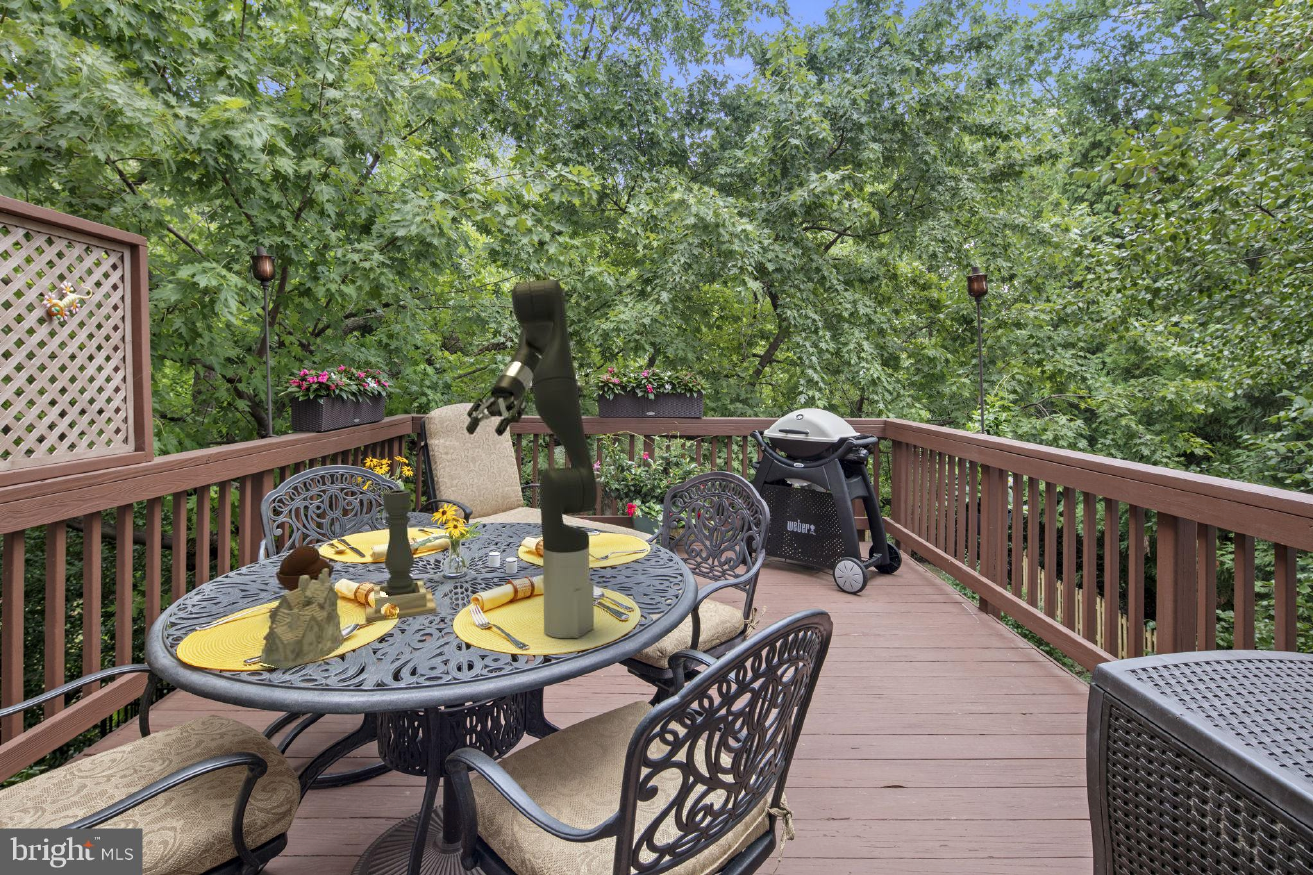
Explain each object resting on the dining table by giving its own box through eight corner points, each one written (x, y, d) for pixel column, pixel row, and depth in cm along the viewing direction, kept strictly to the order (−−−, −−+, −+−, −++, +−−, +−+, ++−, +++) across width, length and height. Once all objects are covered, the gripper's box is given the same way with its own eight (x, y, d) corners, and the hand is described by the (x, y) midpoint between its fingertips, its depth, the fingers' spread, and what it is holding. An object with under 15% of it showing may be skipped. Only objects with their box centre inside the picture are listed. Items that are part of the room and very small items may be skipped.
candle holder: (405, 607, 140) (401, 494, 138) (380, 605, 141) (375, 493, 139) (421, 598, 146) (417, 489, 144) (396, 596, 147) (392, 489, 145)
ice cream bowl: (346, 607, 144) (343, 541, 142) (299, 624, 133) (296, 553, 132) (313, 600, 148) (310, 536, 147) (266, 616, 138) (263, 547, 137)
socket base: (436, 612, 140) (435, 594, 140) (366, 622, 135) (365, 603, 134) (430, 593, 153) (429, 576, 153) (365, 601, 147) (365, 584, 147)
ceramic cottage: (307, 625, 132) (301, 556, 130) (361, 644, 125) (356, 570, 122) (228, 659, 119) (220, 582, 116) (284, 682, 111) (276, 600, 109)
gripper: (482, 373, 161) (451, 421, 152) (529, 373, 155) (500, 423, 146) (496, 394, 166) (467, 442, 157) (542, 394, 160) (515, 444, 151)
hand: (483, 433), depth 151 cm, fingers open, 8 cm apart
